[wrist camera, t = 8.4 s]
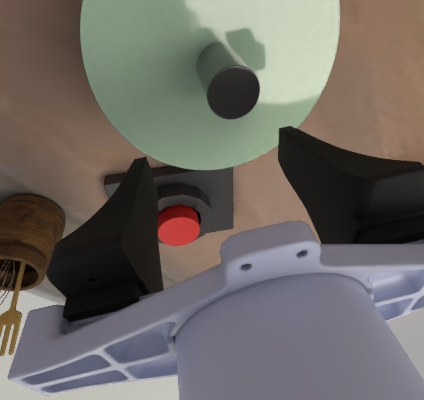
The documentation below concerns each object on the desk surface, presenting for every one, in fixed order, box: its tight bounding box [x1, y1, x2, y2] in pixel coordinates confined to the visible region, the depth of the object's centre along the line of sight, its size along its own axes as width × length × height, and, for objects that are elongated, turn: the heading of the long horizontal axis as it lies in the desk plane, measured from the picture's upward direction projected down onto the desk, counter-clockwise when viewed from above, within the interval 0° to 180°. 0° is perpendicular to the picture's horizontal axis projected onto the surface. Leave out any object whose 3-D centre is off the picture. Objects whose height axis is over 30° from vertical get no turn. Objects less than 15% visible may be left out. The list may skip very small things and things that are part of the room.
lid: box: [80, 0, 340, 170], centre depth 14 cm, size 14×14×5 cm
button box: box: [104, 166, 233, 244], centre depth 28 cm, size 12×9×3 cm
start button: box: [158, 205, 200, 246], centre depth 27 cm, size 4×4×2 cm
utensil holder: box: [0, 195, 65, 356], centre depth 23 cm, size 6×6×12 cm
